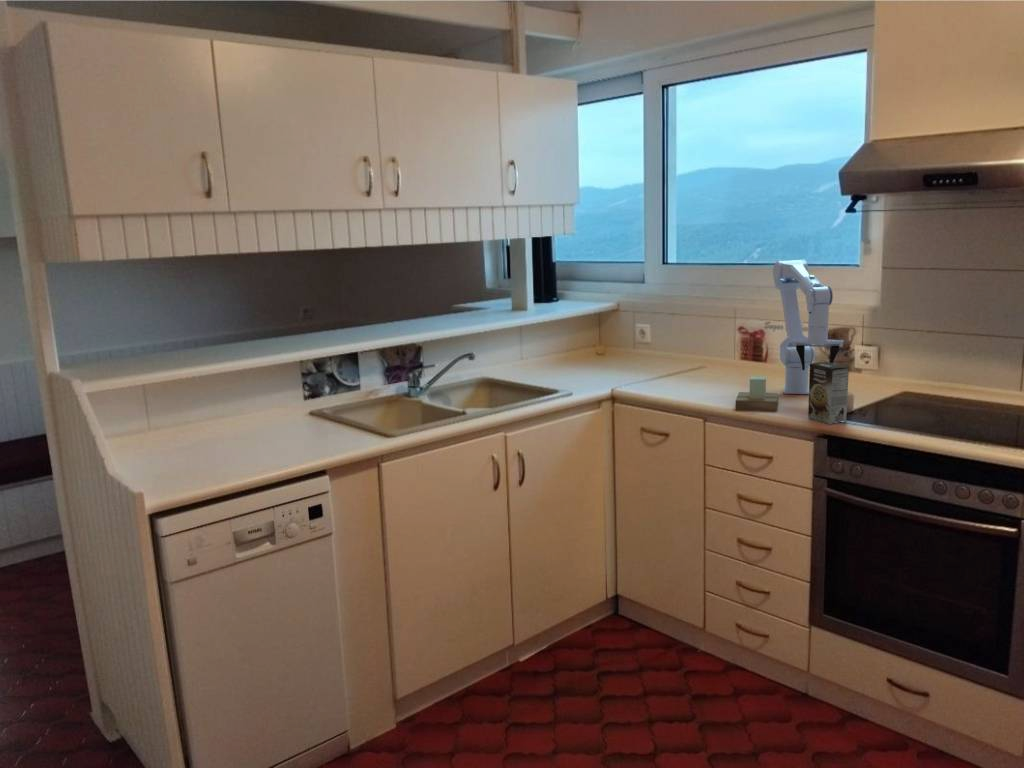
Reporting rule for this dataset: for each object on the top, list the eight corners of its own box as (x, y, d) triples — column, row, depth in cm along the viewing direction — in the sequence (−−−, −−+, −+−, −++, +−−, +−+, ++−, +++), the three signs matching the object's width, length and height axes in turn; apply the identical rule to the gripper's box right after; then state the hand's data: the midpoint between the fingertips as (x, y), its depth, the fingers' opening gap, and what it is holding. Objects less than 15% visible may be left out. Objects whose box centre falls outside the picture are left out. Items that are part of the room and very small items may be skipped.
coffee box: (806, 418, 237) (808, 363, 233) (824, 415, 239) (826, 361, 236) (829, 424, 228) (831, 368, 225) (847, 422, 230) (849, 365, 227)
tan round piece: (835, 408, 247) (835, 392, 246) (852, 408, 245) (853, 392, 244) (835, 412, 242) (836, 395, 241) (853, 412, 241) (854, 396, 240)
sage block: (750, 395, 255) (750, 376, 254) (765, 395, 254) (765, 376, 253) (749, 398, 251) (749, 379, 250) (764, 398, 250) (765, 379, 248)
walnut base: (738, 401, 261) (739, 392, 260) (778, 402, 257) (778, 393, 256) (735, 409, 250) (735, 400, 249) (776, 411, 246) (776, 401, 245)
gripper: (792, 327, 249) (791, 371, 252) (844, 328, 244) (842, 372, 247) (793, 324, 255) (792, 367, 258) (843, 325, 250) (841, 368, 253)
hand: (816, 369), depth 253 cm, fingers open, 7 cm apart
